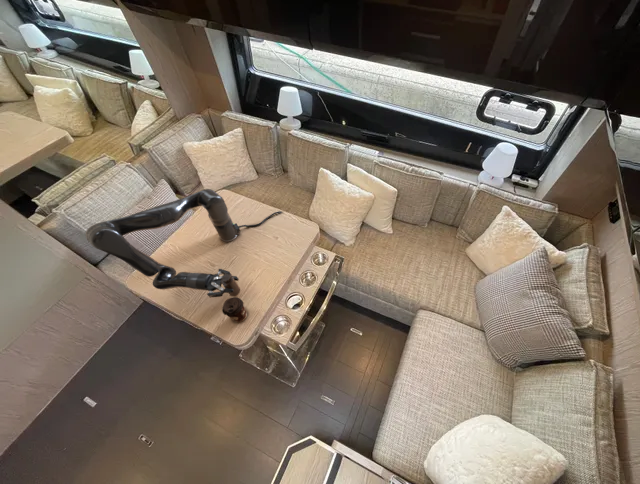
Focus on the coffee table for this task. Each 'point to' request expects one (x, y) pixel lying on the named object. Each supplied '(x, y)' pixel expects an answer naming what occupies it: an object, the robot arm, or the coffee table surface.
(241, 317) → the dark brown cylinder
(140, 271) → the robot arm
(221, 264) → the coffee table surface
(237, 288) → the pepper mill
